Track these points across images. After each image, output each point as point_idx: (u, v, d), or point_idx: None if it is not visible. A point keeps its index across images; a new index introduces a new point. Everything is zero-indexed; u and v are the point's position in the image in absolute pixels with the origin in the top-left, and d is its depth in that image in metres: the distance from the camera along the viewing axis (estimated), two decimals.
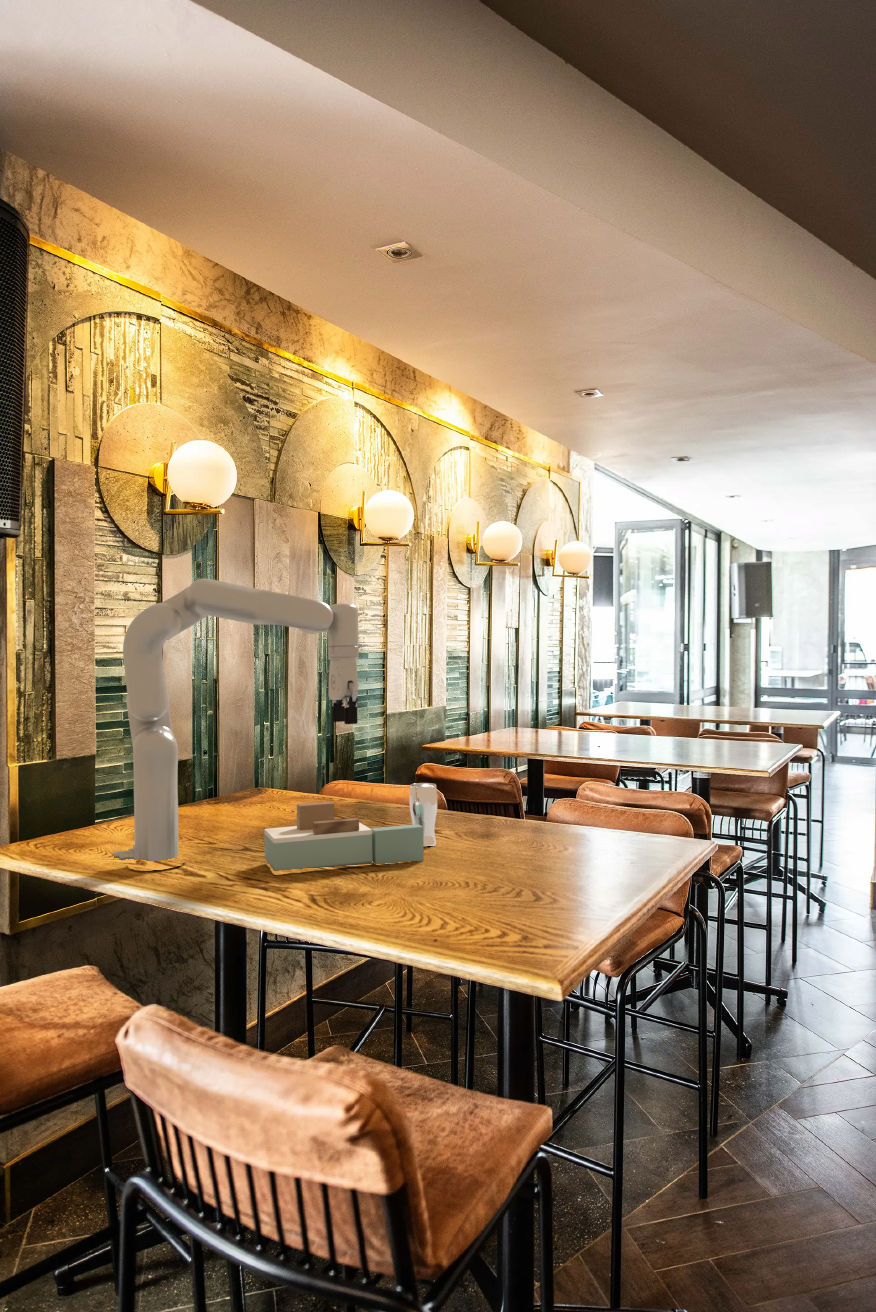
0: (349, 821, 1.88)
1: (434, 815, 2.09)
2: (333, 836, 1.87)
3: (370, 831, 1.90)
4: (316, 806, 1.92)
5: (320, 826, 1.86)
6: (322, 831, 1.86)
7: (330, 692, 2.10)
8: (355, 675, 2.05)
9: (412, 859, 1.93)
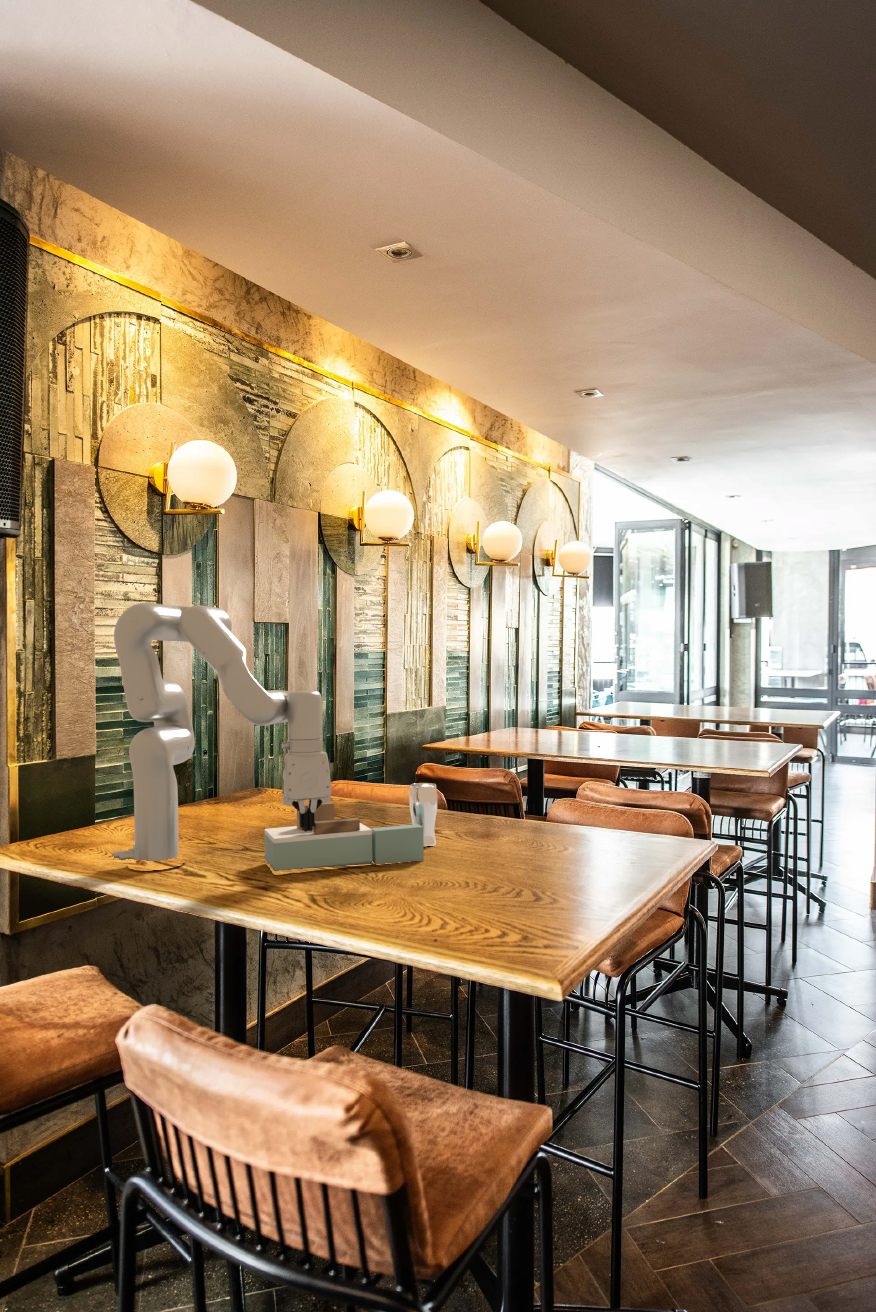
0: (350, 821, 1.88)
1: (434, 815, 2.09)
2: (333, 836, 1.87)
3: (370, 831, 1.90)
4: None
5: (321, 826, 1.86)
6: (323, 831, 1.86)
7: (298, 792, 1.82)
8: None
9: (412, 859, 1.93)
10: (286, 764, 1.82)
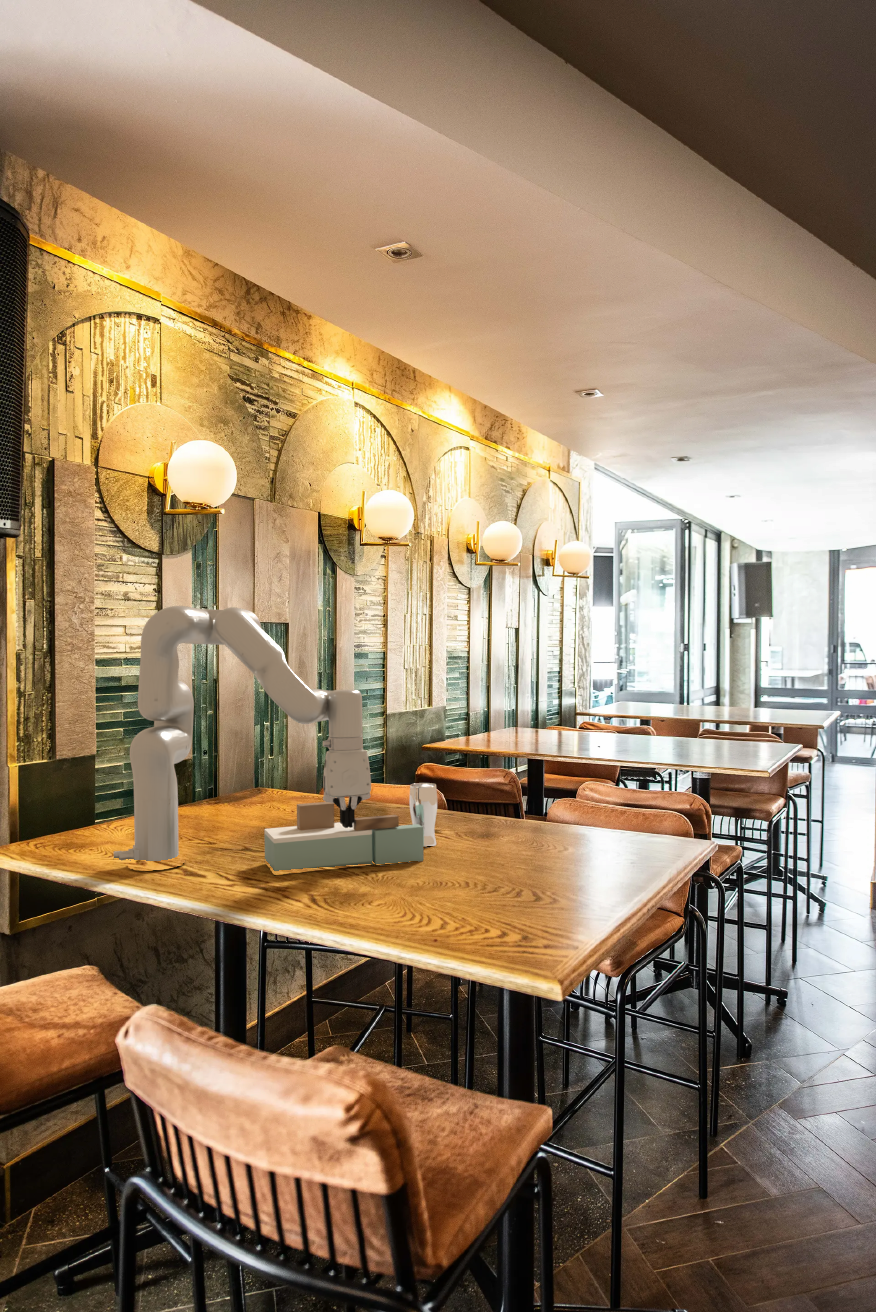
0: (389, 818, 1.91)
1: (434, 815, 2.09)
2: (333, 836, 1.87)
3: (370, 831, 1.90)
4: (316, 806, 1.92)
5: (361, 823, 1.89)
6: (363, 827, 1.89)
7: (339, 789, 1.85)
8: None
9: (412, 859, 1.93)
10: (328, 762, 1.86)
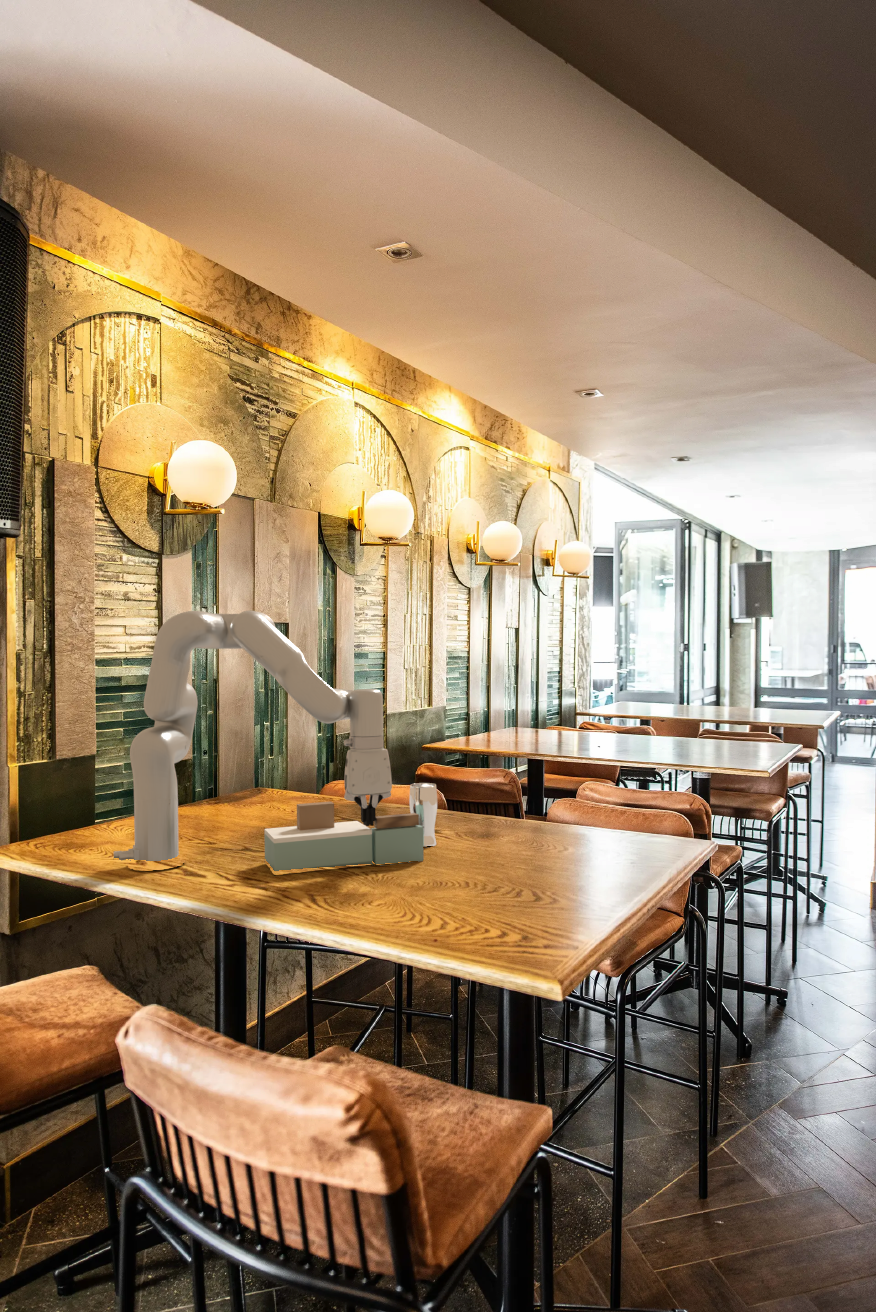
0: (409, 816, 1.93)
1: (434, 815, 2.09)
2: (333, 836, 1.87)
3: (370, 831, 1.90)
4: (316, 806, 1.92)
5: (382, 821, 1.91)
6: (384, 825, 1.91)
7: (360, 788, 1.87)
8: None
9: (412, 859, 1.93)
10: (349, 760, 1.87)
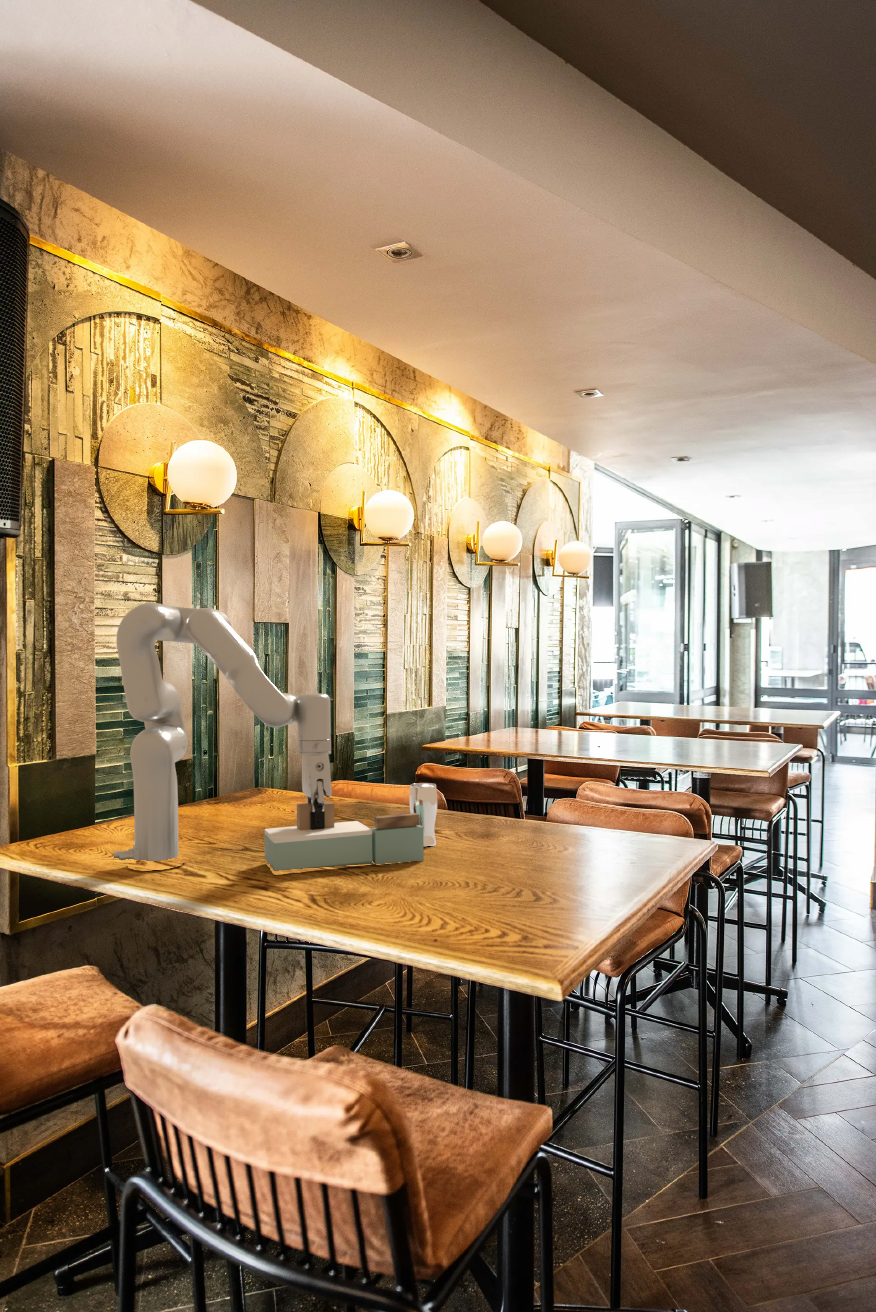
0: (409, 816, 1.93)
1: (434, 815, 2.09)
2: (333, 836, 1.87)
3: (370, 831, 1.90)
4: None
5: (382, 821, 1.91)
6: (384, 825, 1.91)
7: None
8: None
9: (412, 859, 1.93)
10: (327, 763, 1.90)
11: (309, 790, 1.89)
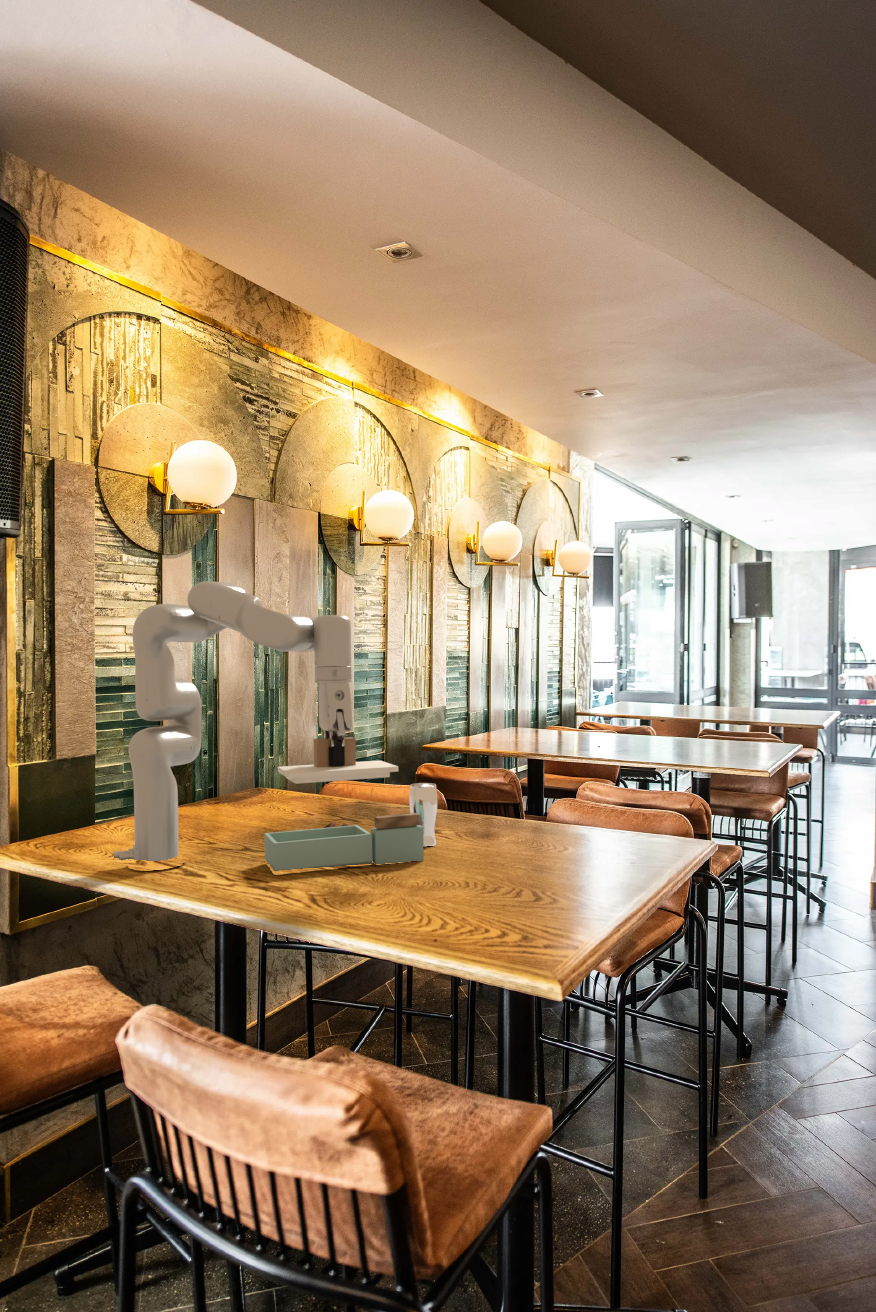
0: (409, 816, 1.93)
1: (434, 815, 2.09)
2: (355, 772, 1.66)
3: (396, 768, 1.69)
4: None
5: (382, 821, 1.91)
6: (384, 825, 1.91)
7: None
8: None
9: (412, 859, 1.93)
10: (347, 692, 1.69)
11: (327, 722, 1.69)
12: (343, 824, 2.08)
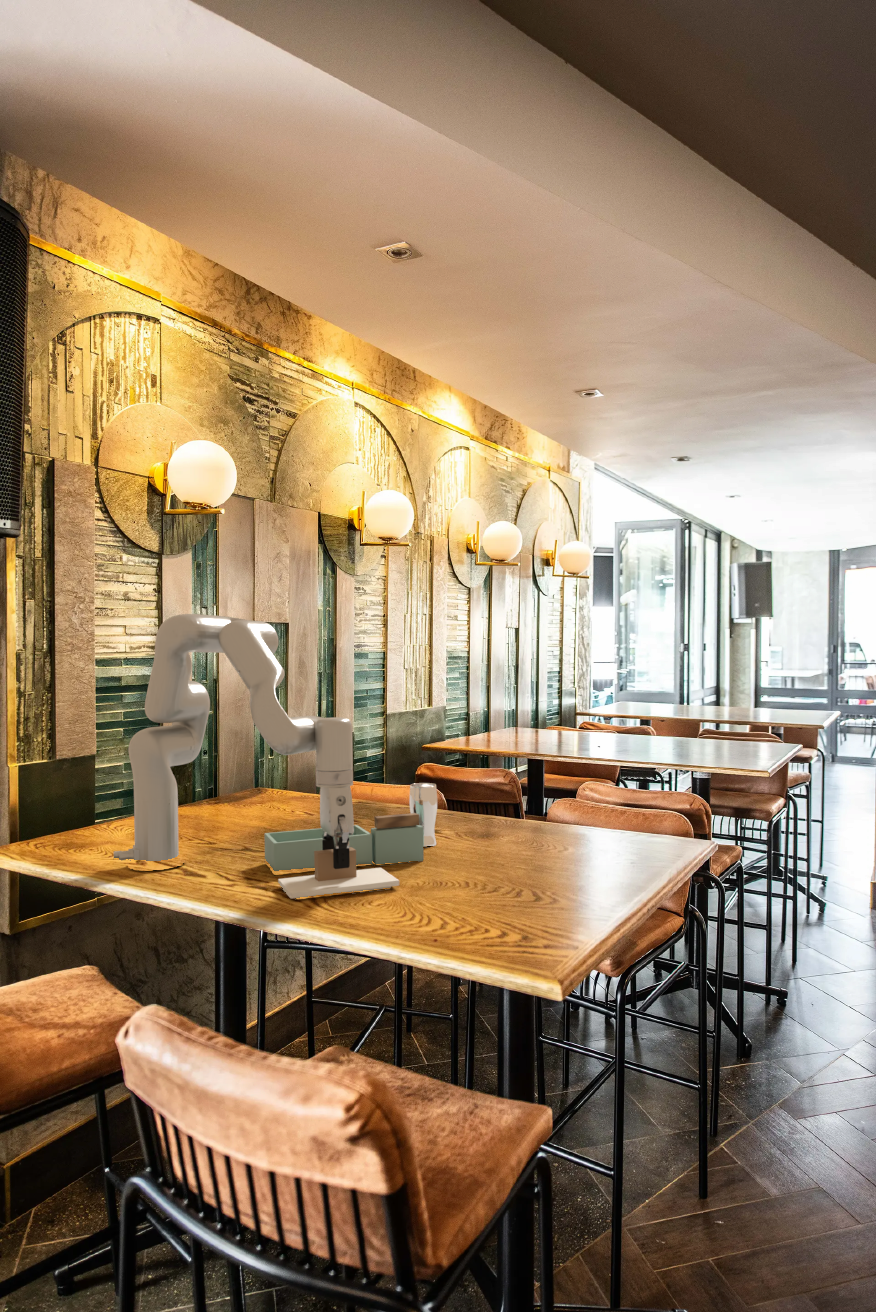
0: (409, 816, 1.93)
1: (434, 815, 2.09)
2: (356, 889, 1.66)
3: (397, 882, 1.69)
4: None
5: (382, 821, 1.91)
6: (384, 825, 1.91)
7: None
8: None
9: (412, 859, 1.93)
10: (349, 797, 1.69)
11: (329, 827, 1.68)
12: None
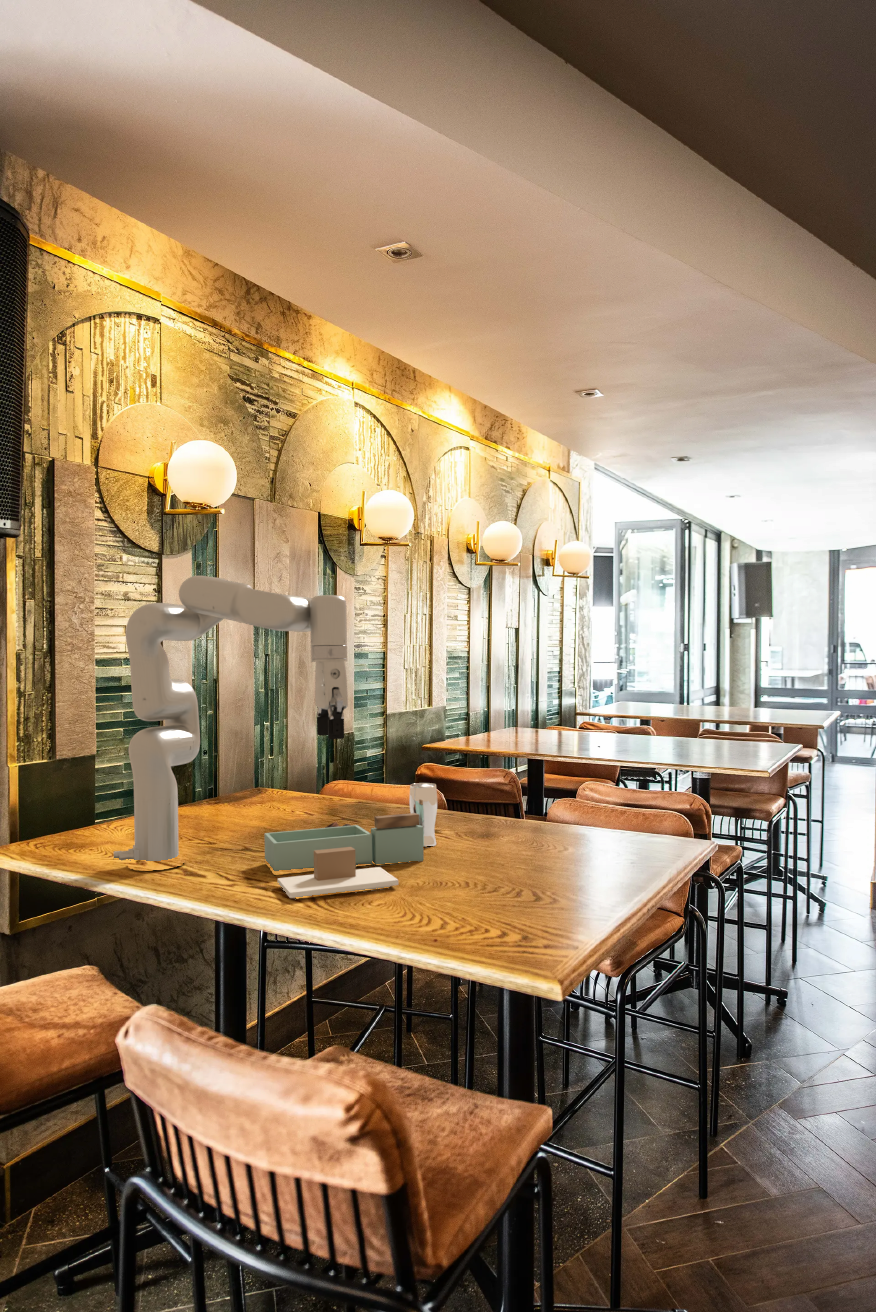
0: (409, 816, 1.93)
1: (434, 815, 2.09)
2: (356, 888, 1.66)
3: (396, 881, 1.70)
4: (335, 853, 1.72)
5: (382, 821, 1.91)
6: (384, 825, 1.91)
7: None
8: None
9: (412, 859, 1.93)
10: (343, 671, 1.72)
11: (323, 700, 1.71)
12: (345, 824, 2.08)
